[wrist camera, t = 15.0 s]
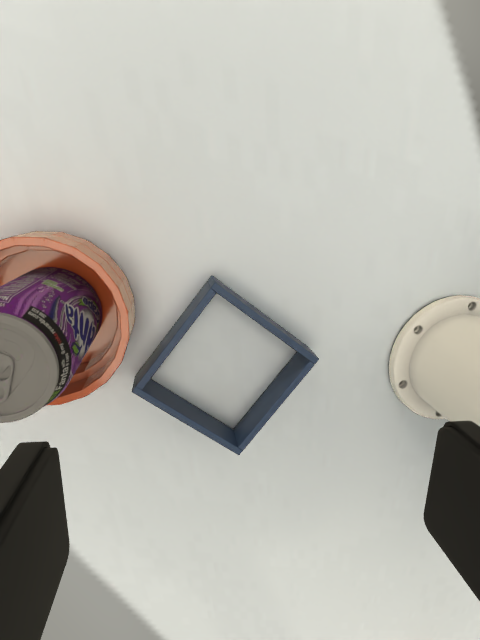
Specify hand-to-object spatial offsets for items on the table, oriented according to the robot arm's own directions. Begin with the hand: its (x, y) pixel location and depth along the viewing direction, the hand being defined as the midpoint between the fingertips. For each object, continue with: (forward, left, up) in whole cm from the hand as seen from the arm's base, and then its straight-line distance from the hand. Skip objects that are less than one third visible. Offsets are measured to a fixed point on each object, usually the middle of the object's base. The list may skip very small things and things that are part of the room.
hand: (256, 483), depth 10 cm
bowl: (+8, +9, -25) cm, 28 cm away
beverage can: (+8, +9, -25) cm, 28 cm away
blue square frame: (-6, +5, -25) cm, 27 cm away
